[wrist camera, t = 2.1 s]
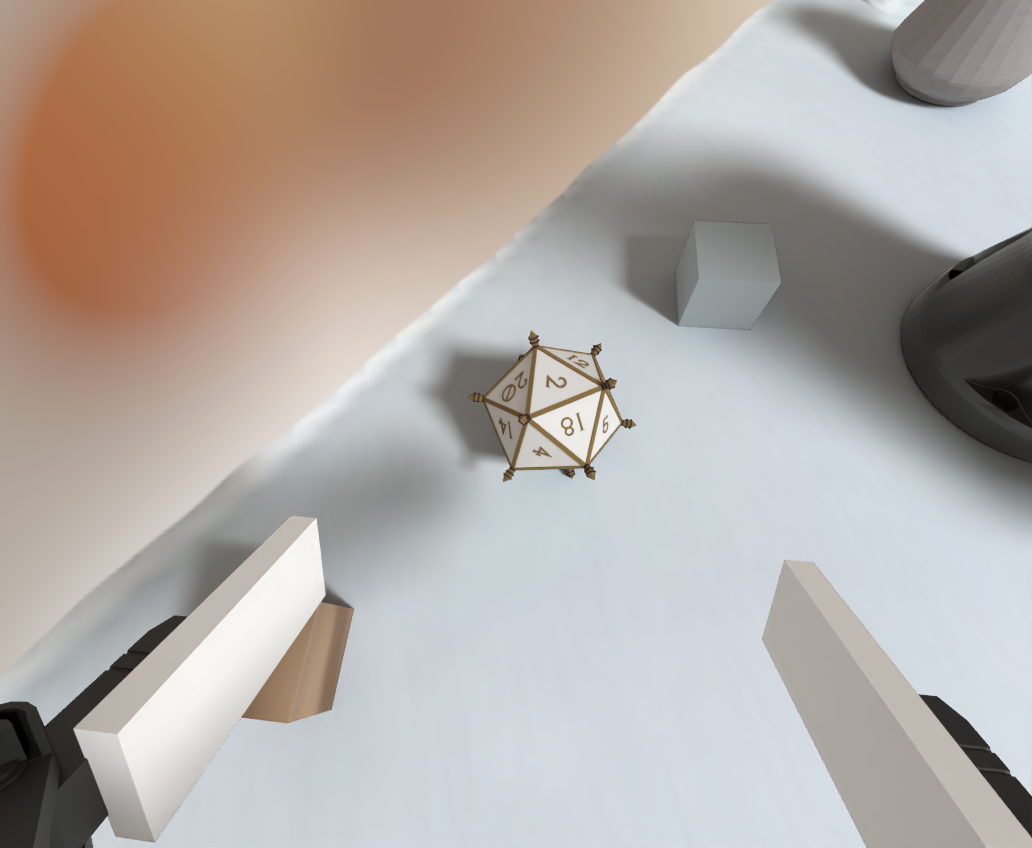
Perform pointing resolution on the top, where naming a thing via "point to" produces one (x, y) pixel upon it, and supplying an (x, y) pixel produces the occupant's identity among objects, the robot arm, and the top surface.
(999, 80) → the coffee pot
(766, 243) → the light grey cube
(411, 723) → the top surface
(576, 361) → the game die
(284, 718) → the walnut block
